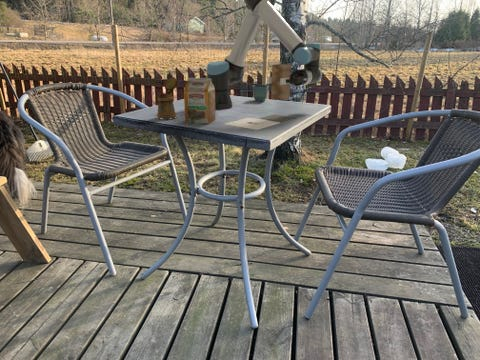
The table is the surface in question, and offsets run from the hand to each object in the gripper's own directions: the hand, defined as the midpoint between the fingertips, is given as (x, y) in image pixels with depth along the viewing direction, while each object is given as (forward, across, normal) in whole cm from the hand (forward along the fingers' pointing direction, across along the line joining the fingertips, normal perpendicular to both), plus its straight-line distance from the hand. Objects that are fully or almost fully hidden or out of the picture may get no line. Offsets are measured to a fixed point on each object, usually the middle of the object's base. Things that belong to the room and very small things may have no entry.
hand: (274, 81), depth 165 cm
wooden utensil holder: (+26, +42, -17) cm, 52 cm away
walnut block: (-5, 0, -8) cm, 10 cm away
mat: (-5, +1, -17) cm, 18 cm away
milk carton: (+24, +23, -17) cm, 38 cm away
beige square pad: (+12, +3, -17) cm, 21 cm away
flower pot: (-42, +38, -17) cm, 59 cm away
